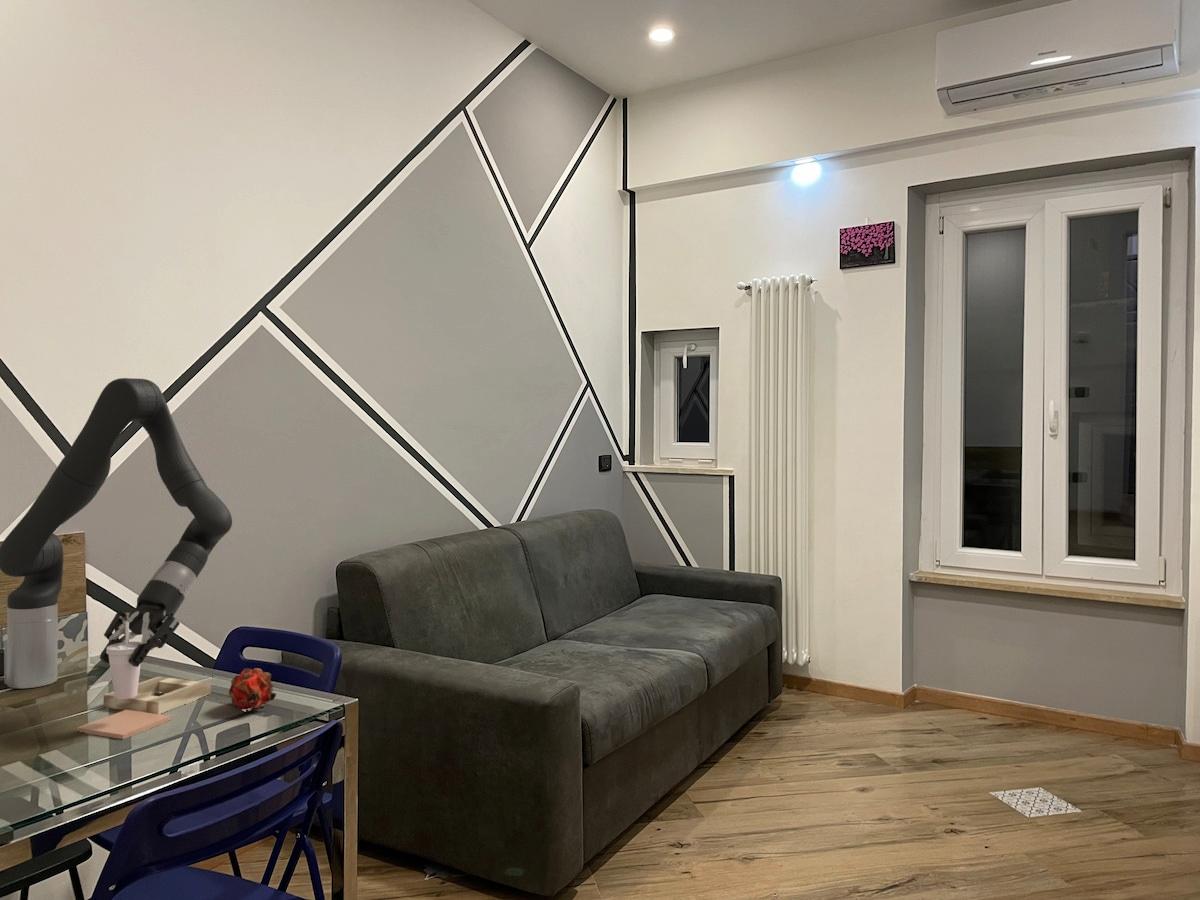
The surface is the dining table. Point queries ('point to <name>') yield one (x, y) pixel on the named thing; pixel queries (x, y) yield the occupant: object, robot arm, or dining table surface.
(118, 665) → the smoothie
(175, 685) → the block
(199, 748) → the dining table surface
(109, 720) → the coaster
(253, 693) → the dragon fruit
